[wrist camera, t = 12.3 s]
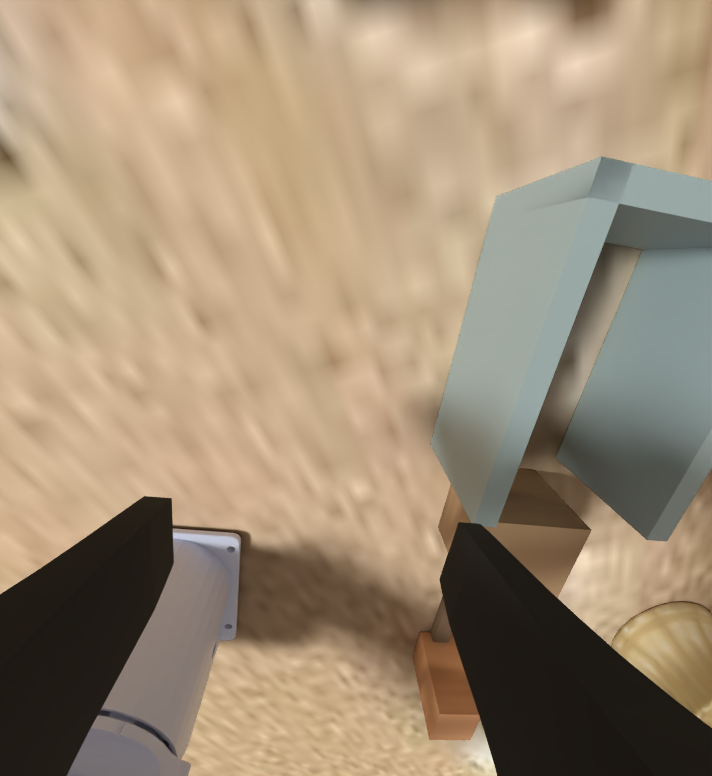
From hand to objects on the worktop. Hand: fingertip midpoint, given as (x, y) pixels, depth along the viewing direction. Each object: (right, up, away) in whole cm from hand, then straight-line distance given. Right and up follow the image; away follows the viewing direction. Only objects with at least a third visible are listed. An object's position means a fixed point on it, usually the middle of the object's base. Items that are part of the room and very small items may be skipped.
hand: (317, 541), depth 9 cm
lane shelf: (+11, +6, +10) cm, 16 cm away
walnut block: (+8, -9, +15) cm, 20 cm away
